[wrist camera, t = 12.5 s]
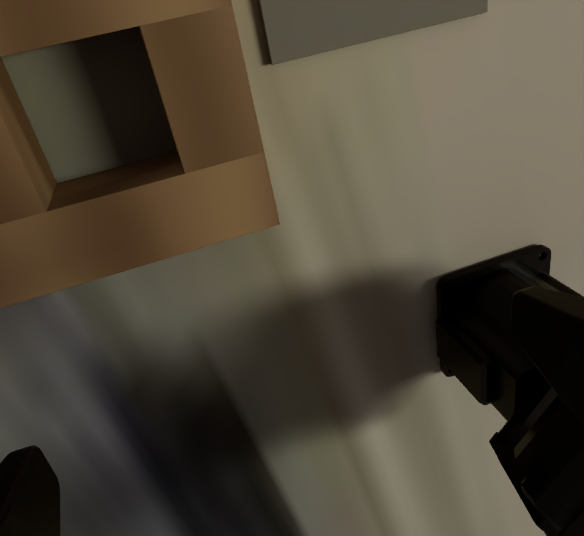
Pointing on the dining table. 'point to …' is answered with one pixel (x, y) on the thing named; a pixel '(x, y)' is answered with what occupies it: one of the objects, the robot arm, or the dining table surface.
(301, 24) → the mat
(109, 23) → the hole block
